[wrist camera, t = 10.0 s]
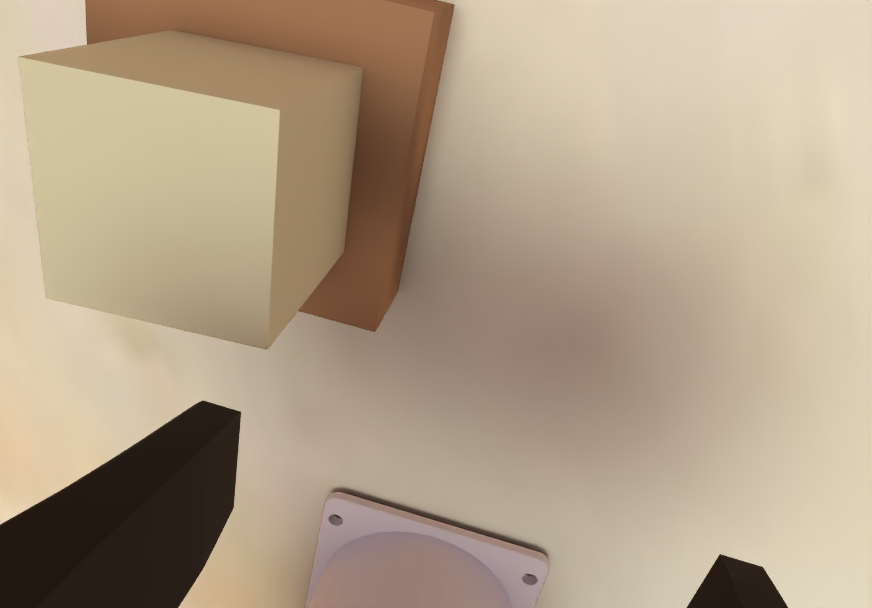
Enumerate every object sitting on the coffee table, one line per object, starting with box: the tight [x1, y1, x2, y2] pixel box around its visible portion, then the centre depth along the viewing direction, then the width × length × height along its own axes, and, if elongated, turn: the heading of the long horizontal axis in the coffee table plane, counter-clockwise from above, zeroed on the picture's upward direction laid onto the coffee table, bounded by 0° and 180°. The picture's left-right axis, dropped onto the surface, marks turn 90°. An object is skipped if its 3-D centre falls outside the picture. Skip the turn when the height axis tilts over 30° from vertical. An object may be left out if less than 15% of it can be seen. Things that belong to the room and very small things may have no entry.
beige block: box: [18, 30, 363, 350], centre depth 15 cm, size 4×4×5 cm
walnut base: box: [85, 0, 454, 332], centre depth 18 cm, size 8×8×3 cm
